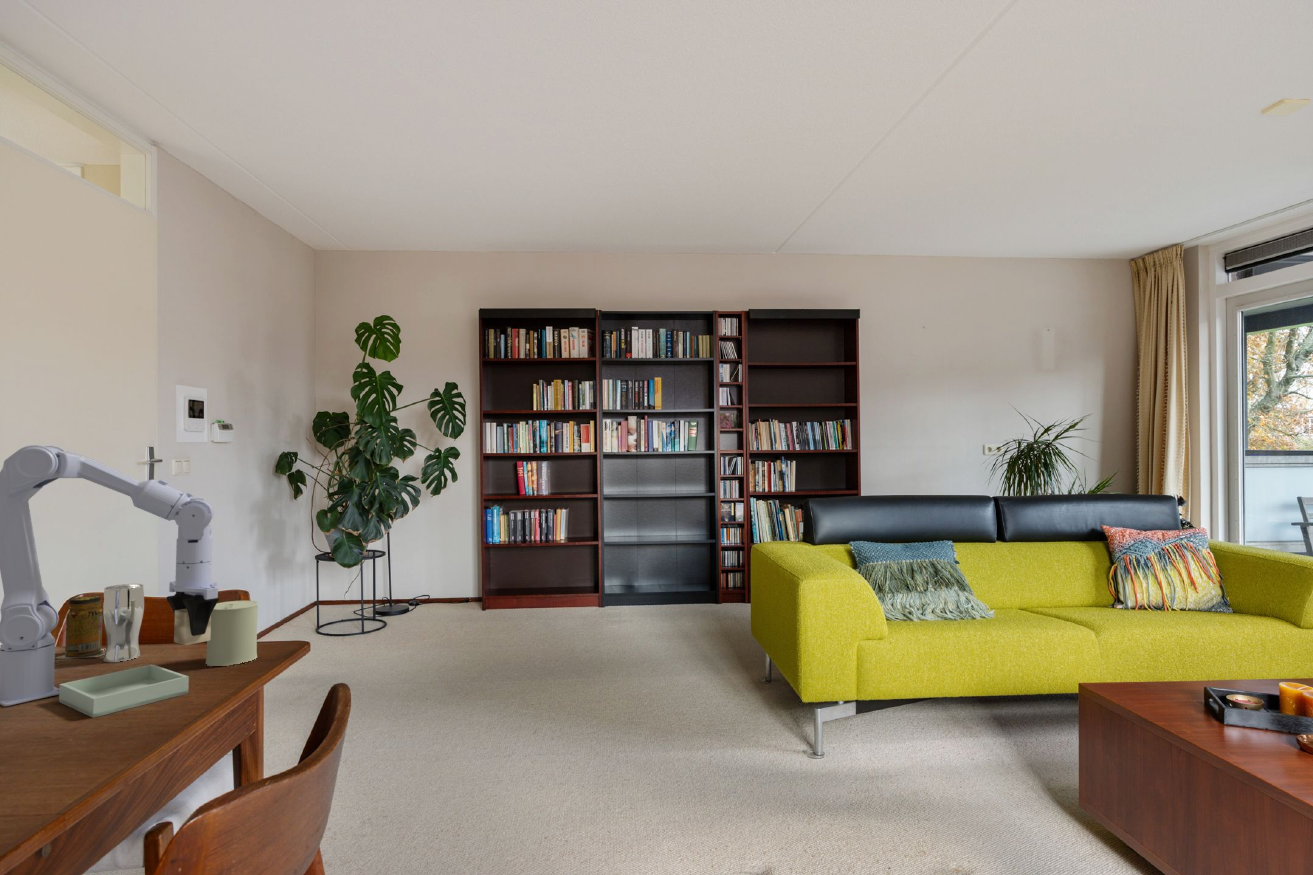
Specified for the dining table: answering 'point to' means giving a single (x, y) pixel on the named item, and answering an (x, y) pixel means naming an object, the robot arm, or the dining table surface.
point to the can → (233, 633)
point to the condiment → (84, 628)
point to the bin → (122, 690)
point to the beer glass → (122, 621)
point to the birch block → (188, 629)
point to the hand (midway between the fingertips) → (191, 632)
